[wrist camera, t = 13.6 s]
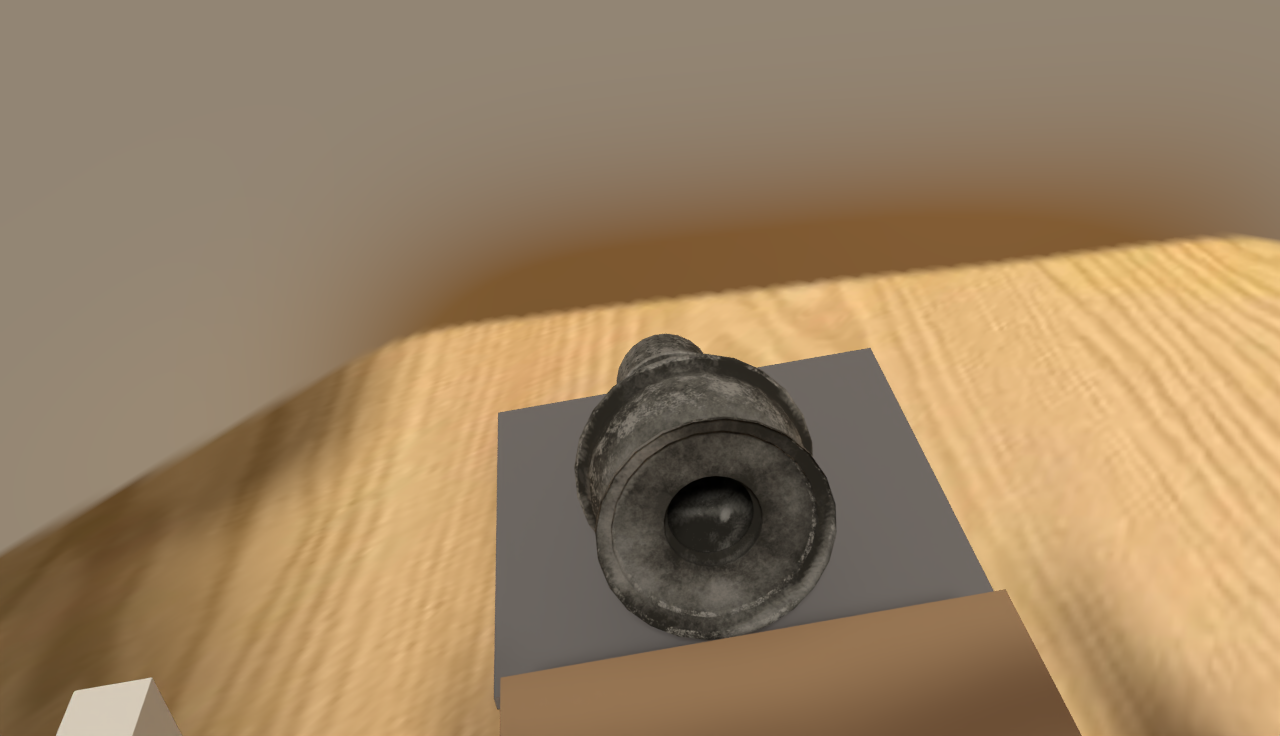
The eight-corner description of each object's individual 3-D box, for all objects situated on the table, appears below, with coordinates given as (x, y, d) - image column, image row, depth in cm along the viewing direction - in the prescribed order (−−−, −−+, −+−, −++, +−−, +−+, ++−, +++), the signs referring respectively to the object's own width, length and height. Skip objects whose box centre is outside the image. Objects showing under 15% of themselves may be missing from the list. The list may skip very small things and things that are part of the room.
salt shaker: (679, 355, 24) (628, 232, 36) (529, 577, 26) (526, 391, 37) (903, 488, 26) (786, 330, 37) (751, 692, 27) (683, 479, 39)
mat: (497, 709, 28) (494, 697, 28) (500, 423, 38) (498, 412, 38) (1002, 621, 28) (1002, 608, 28) (870, 358, 38) (870, 347, 38)
